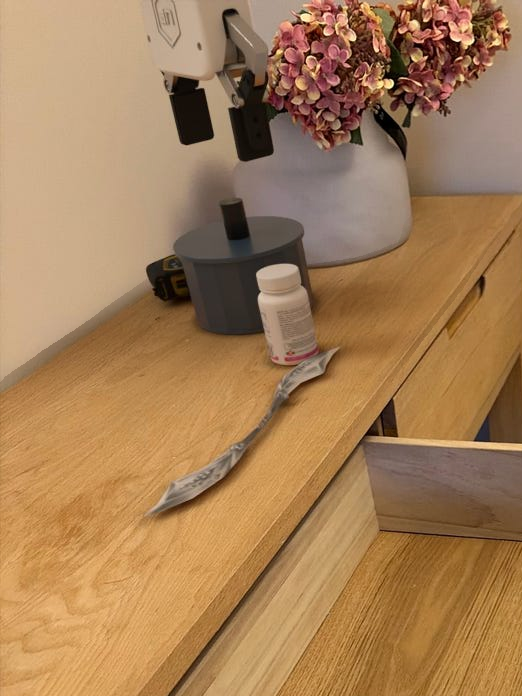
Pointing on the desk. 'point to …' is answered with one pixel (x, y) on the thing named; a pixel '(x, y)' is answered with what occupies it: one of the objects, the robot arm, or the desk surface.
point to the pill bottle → (286, 315)
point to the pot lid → (238, 237)
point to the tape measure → (168, 278)
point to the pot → (236, 290)
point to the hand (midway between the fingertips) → (226, 149)
